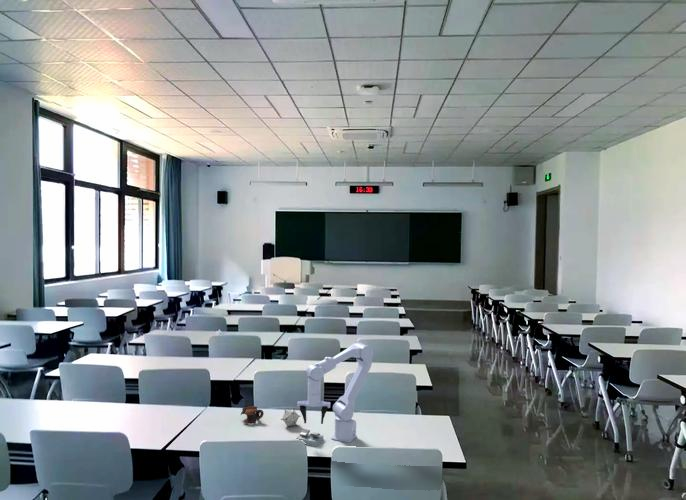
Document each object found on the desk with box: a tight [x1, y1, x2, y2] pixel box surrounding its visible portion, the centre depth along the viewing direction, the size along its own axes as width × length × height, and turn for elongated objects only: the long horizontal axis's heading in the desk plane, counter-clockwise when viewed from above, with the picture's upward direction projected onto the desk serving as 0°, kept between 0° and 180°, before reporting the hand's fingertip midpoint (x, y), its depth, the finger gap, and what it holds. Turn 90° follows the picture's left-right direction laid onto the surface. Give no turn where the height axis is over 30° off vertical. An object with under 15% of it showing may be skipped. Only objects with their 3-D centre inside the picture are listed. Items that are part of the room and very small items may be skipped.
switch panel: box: [295, 432, 324, 447], centre depth 216 cm, size 10×7×3 cm
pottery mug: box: [240, 406, 264, 425], centre depth 238 cm, size 12×10×8 cm
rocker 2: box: [310, 432, 321, 437], centre depth 215 cm, size 3×4×1 cm
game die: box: [280, 407, 301, 429], centre depth 233 cm, size 9×8×10 cm
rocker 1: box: [299, 428, 311, 437], centre depth 217 cm, size 3×4×1 cm
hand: (313, 422), depth 214 cm, fingers open, 7 cm apart
